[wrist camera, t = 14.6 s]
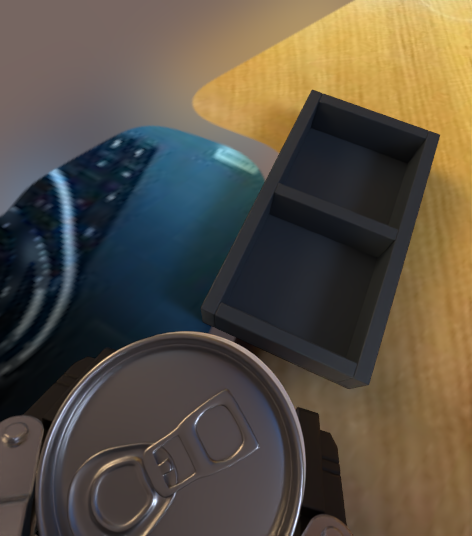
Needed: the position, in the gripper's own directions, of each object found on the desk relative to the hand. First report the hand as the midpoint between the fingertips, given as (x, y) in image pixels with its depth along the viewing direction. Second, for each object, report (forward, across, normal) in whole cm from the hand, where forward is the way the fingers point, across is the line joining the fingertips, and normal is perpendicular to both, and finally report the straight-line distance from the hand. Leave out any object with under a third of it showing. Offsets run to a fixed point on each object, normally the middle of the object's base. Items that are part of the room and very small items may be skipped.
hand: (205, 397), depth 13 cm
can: (+4, 0, +6) cm, 7 cm away
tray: (+13, -4, -4) cm, 14 cm away
